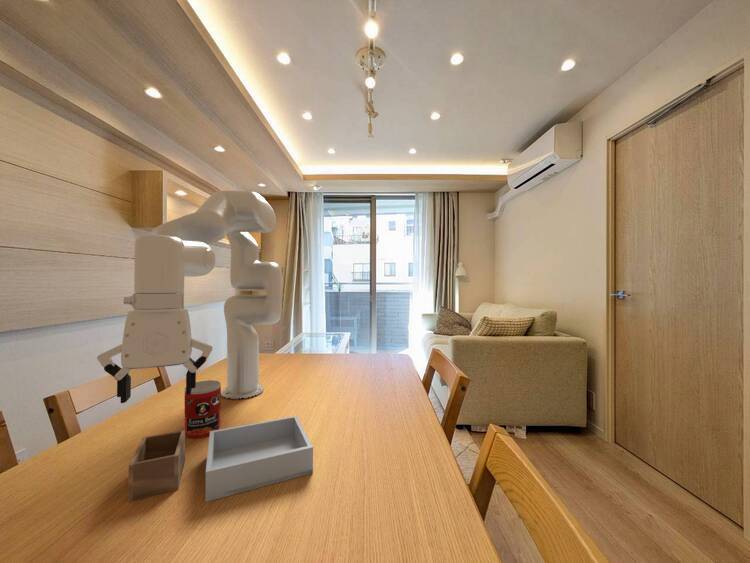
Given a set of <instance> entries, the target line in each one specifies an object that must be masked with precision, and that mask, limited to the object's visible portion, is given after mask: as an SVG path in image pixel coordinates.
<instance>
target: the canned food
mask: <svg viewBox="0 0 750 563" xmlns="http://www.w3.org/2000/svg"><path fill="white" fill-rule="evenodd" d="M221 385H222V384H221V382H220V381H218V380H213V379H212V380H209V379H208V380H201V381H196V387H195V388H192V391H191V394H189V395H187V394H186V387H184V430H185V437H187V438H190V439H199V438H200V439H201V438H206V437H208V436H210V431H215V430H220V428H221V421H222V420H221V413H222V411H221V408H222V405H221V404H222V403H221V402H222V398H221V397H222V395H221V392H222V386H221Z"/></svg>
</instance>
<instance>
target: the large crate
mask: <svg viewBox="0 0 750 563" xmlns="http://www.w3.org/2000/svg"><path fill="white" fill-rule="evenodd" d="M207 446H208V447H207V448H208V449H207V456H206V465H205V503H207V502H211V501H214V500H218V499H221V498H226V497H229V496H233V495H237V494H241V493H244V492H247V491H248V492H249V491H252V490H256V489H260V488H263V487H266V486H271V485H274V484H277V483H281V482H285V481H286V482H287V481H288V480H293V479H296V478H301V477H304V476H307V475H311V474H313V473H314V446H313V445H312V443H311V440H310V439H309V437H308V435H307V433H306V431H305V428H304V427H303V425H302V423H301V421H300V419H299V417H298V415H293V416H287V417H281V418H277V419H276V418H275V419H271V420H266V421H265V420H264V421H260V422H253V423H248V424H243V425H236V426H232V427H227V428H221V429H220V428H219V429H218V430H215V431H210V435H209V437H208V445H207Z"/></svg>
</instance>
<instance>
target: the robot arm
mask: <svg viewBox="0 0 750 563" xmlns="http://www.w3.org/2000/svg"><path fill="white" fill-rule="evenodd" d="M276 224H277V218H276V213H275V211H274V209H273V207H272V206H271V204H270V203H269V202H268V201H267V200H266V199H265V197H263V196H262V195H260V194H259V193H258V192H255V191H252V190H226V189H225V190H224V189H223V190H218V191H215V192H213V193H212V194H211V195H210V196H209V197H208V198H207V199H206V200H205V201H204V202H203V204H201V205H200V206H199V207H198V209H197V210H195V212H191V213H189V214H185V215H183V216H181V217H178V218H175V219H172V220H169V221H166V222H164V223H162V224H159V225H158V226H156V227H154V228H153V229H152V230H151V231H150V232H149V233H147V234H142V235H138V236H137V238H136V239H135V241H134V255H133V257H134V258H133V259H134V273H133V274H134V277H133V279H134V280H133V281H134V283H133V293H132V295H130V296H124V297H123V304H124V305H129V306H131V307H132V309H133V310H130V311H127V313H126V318H125V322H124V327H123V328H124V329H123V334H122V336H123V337H122V342H121V344H118V346H115V347H113V348H111V349H109V350H107V351H104V352H103V353H101V354H99V355H97V356H96V359H97V361H98V362H99V364H100V366H102V367H103V370H104V372H106V373H107V374H109V375H110V376H111V377H113V379H114V380H115V381H116V397H117V398H120V404H125V403H126V402H128V400H129V399H130V398H131V395H132V394H131V391H132V377H131V375H130V374H129V372H131V371H132V370H141V369H152V368H153V369H154V368H163V367H172V366H174V367H175V366H181V365H182V366H183V367H185V368H186V370H187V371H186V374H185V388H186V394H187V395H189V394H191V391H192V388H195V387H196V382H197V371H198V370H199V368H200V367H202V366H203V365H204V364H205V363H206V362H207V360H208V358H209V356H210V354H211V353H212V351H213V346H212V345H209V344H207V343H205V342H202V341H200V340H197V339H196V338H195V339H194V338H192V329H191V328H192V327H191V322H190V321H191V320H190V314H189V311H188V309H187V308H186V309H185V293H184V292H185V277H189V278H192V277H202V276H207V274H210V273H211V272H212V271H213V270H214V268H215V265H216V261H217V259H216V258H217V257H216V254H215V252H214V250H213V248H212V247H211V246H210V245H209V244H213V243H215V242H219V241H221V240H223V239H224V238H225V237H226V238H227V240H228V243H229V246H230V264H229V265H230V267H229V268H230V269H229V278H230V285H231V287H232V288H233V289H235V290H237V291H251V292H252V291H255V292H258V291H260V292H262V291H264V292H265V294H237V295H232V296H230V297H228V298H227V299H226V300H225V302H224V304H223V314H224V320H225V325H226V386H225V387H224V388H223V389H221V397H223V398H224V397H225V398H224V399H228V398H231V399H230V400H242V399H241V398H244V399H248V397H249V398H252V396H253V397H256V396H258V395H260V394H261V393H262V392H264V389H265V387H264V385H263V384H262V383H259V381H260V380H259V379H260V378H259V377H260V372H259V371H260V365H259V364H260V337H259V333H258V332H257V331H256V330H257V329H255V327H253V325H275V324H277V323H278V322H279V321H280V320H281V318H282V310H283V309H282V308H283V306H282V305H283V304H282V303H283V273H282V270H281V267H280V265H279V264H278V263H276V262H273V261H260V247H259V245H258V243H257V241H256V239H255V238H254V237H253V236H252V235H251V234H250V233H256V234H257V233H260V234H262V233H263V234H267V233H271V232H272V231H273V230H275V227H276ZM193 348H194V349H196V350H200V351H201V352H202V353H201V354H200V356H199V357H198V358H197V359H196V360H194V359H193V358H192V357H191V355H192V349H193ZM118 354H120V362H121V366H122V367H120V366H119V365H118V364H116V363H115V362H114V360H113V359H112V358H113V357H115V356H116V355H118ZM255 395H256V396H255ZM239 398H240V399H239Z"/></svg>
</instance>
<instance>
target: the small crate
mask: <svg viewBox="0 0 750 563" xmlns="http://www.w3.org/2000/svg"><path fill="white" fill-rule="evenodd" d="M185 461H186V434H185V429H182V430H177V431H172V432H166V433H161V434H155V435H154V434H153V435H150V436H144V437H142V439H141V441H140V442H139V445H138V446H137V448H136V451H135V452H134V454H133V456H132V458H131V460H130V462H129V464H128V470H127V471H128V474H127V475H128V478H127V479H128V484H127V485H128V488H127V489H128V498H127V499H128V502H132V501H137V500H141V499H145V498H148V497H153V496H157V495H161V494H165V493H169V492H173V491H178V490H179V488H180V482H181V478H182V474H183V470H184V465H185Z"/></svg>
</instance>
